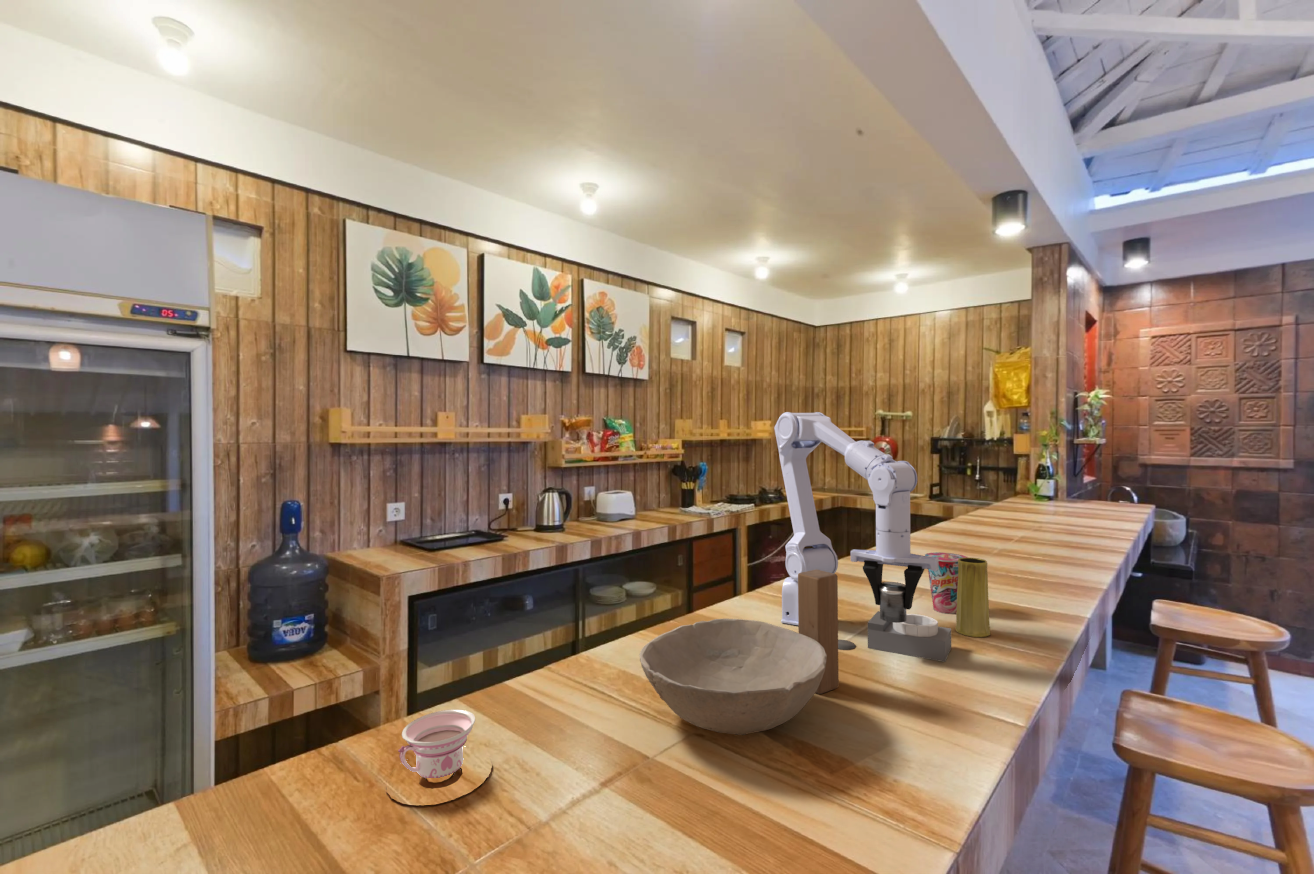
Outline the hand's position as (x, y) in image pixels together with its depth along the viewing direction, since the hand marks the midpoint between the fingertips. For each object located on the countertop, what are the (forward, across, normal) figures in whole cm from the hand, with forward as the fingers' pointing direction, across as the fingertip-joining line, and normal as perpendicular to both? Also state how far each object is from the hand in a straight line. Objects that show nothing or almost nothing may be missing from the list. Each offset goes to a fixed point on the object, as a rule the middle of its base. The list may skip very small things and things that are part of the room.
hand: (893, 605), depth 107 cm
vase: (+9, +10, +20) cm, 25 cm away
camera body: (+9, +2, +5) cm, 10 cm away
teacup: (+9, -37, -68) cm, 77 cm away
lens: (+2, 0, 0) cm, 2 cm away
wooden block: (+9, -9, -19) cm, 23 cm away
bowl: (+9, -14, -36) cm, 40 cm away
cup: (+9, +4, +33) cm, 35 cm away
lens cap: (+9, -9, 0) cm, 13 cm away
